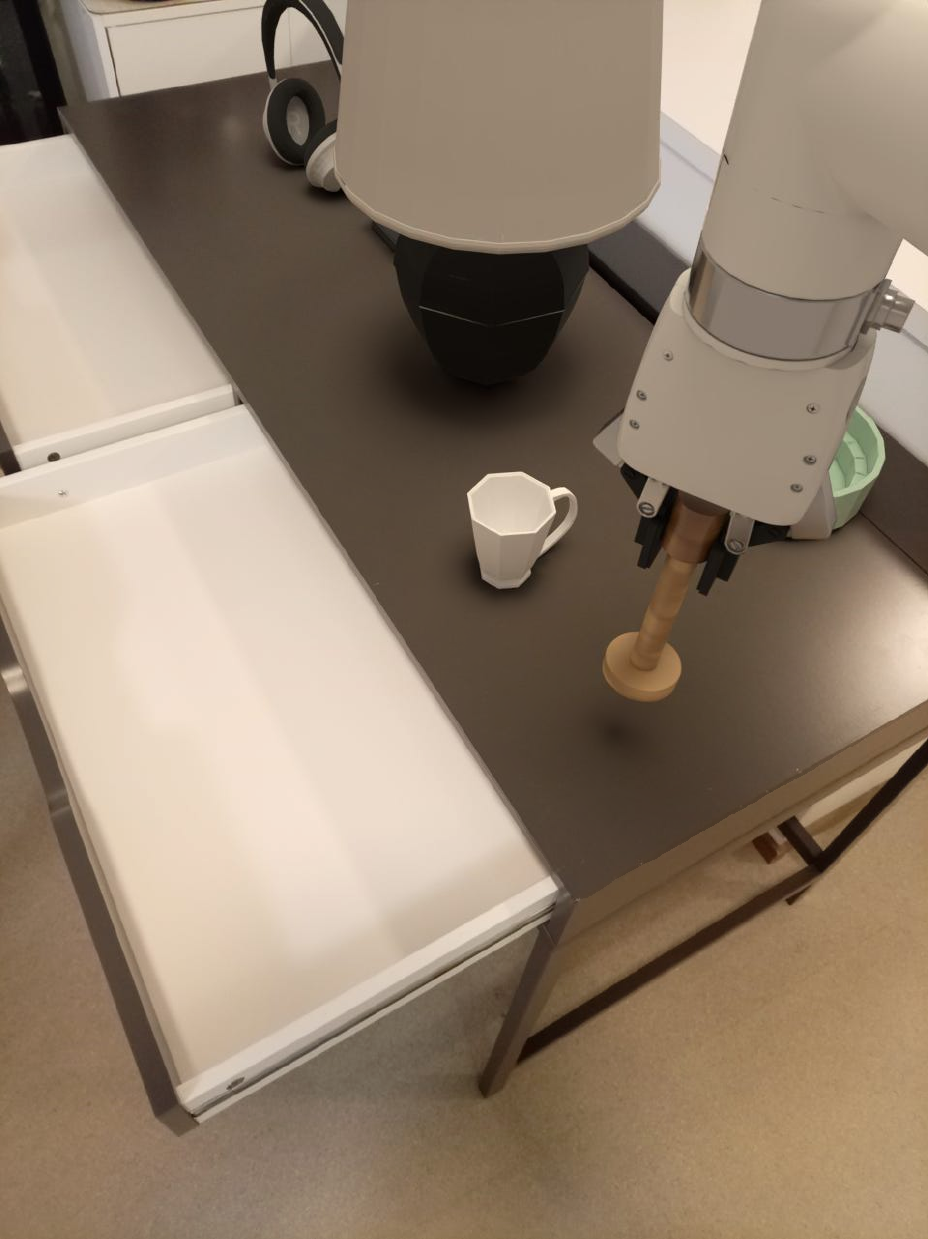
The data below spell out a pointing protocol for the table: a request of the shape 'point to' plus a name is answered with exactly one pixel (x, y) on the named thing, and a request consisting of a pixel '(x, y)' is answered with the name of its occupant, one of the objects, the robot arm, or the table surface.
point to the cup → (514, 524)
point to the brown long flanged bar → (665, 603)
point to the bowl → (855, 466)
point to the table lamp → (498, 158)
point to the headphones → (301, 97)
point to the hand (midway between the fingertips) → (681, 563)
